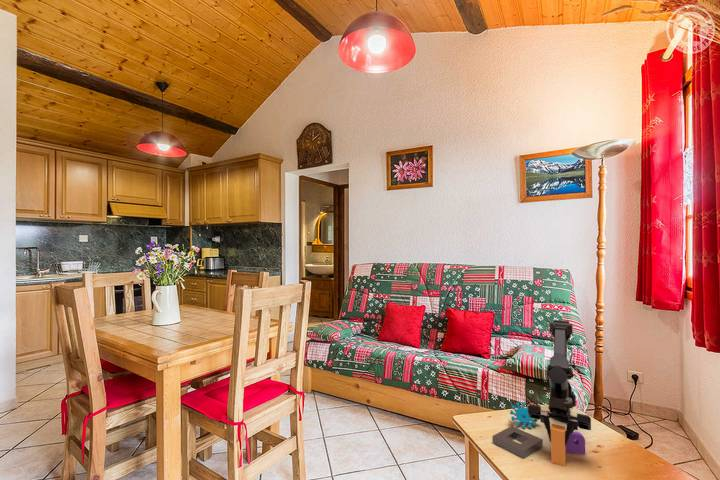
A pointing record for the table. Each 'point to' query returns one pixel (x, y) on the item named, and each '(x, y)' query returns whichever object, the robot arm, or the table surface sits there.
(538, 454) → the table surface
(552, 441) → the tall orange pillar
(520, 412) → the gear
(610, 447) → the table surface
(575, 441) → the bracket
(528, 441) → the slotted square tile
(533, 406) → the robot arm
